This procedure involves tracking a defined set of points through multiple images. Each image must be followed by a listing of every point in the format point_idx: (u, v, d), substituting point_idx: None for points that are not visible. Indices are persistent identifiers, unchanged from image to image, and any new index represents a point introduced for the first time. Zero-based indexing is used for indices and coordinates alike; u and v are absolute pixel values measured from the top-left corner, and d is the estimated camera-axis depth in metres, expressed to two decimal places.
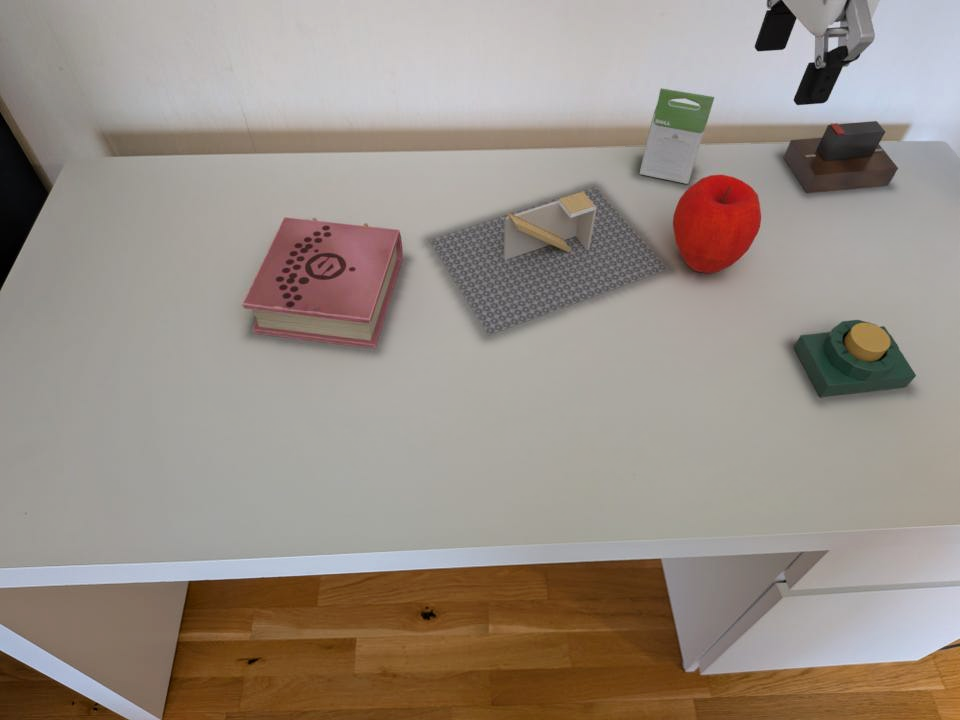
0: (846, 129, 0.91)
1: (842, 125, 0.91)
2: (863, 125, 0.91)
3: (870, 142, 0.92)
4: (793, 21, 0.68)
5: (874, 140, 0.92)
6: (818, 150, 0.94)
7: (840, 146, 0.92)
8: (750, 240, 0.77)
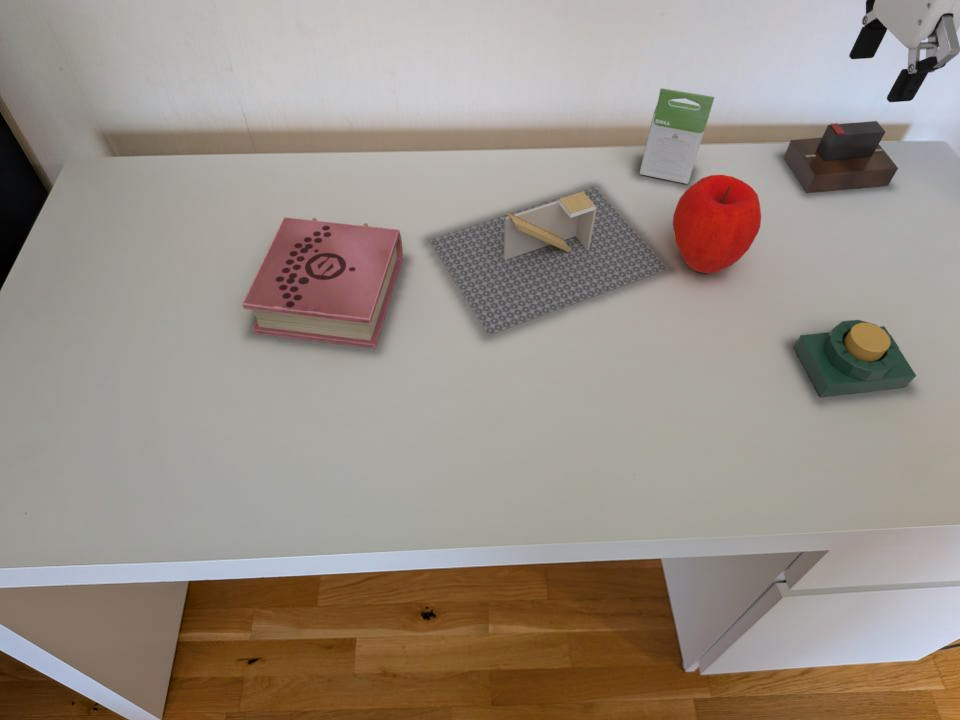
0: (846, 129, 0.91)
1: (842, 125, 0.91)
2: (863, 125, 0.91)
3: (870, 142, 0.92)
4: (882, 35, 0.85)
5: (874, 140, 0.92)
6: (818, 150, 0.94)
7: (840, 146, 0.92)
8: (750, 240, 0.77)
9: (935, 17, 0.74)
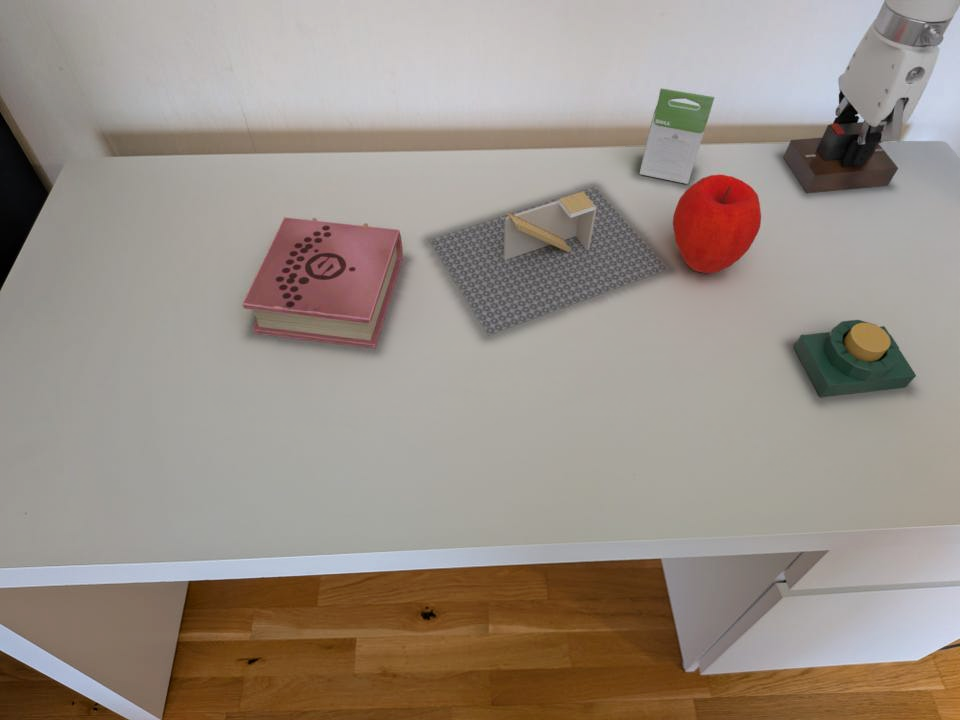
0: (846, 129, 0.91)
1: (842, 125, 0.91)
2: None
3: None
4: None
5: None
6: (818, 150, 0.94)
7: (840, 146, 0.92)
8: (750, 240, 0.77)
9: (892, 101, 0.82)
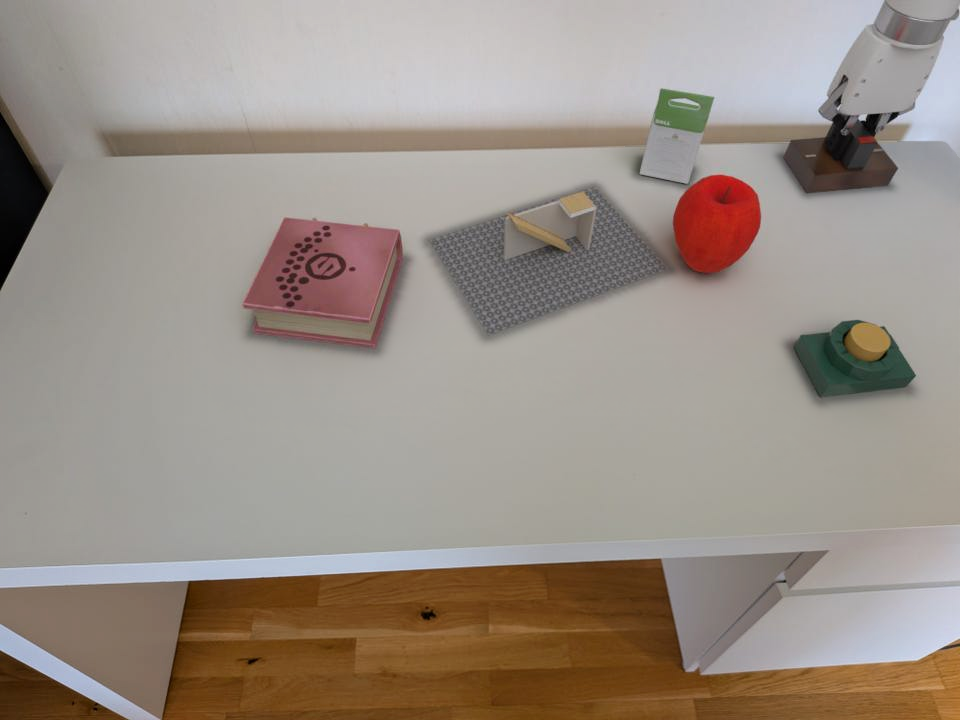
0: (862, 134, 0.90)
1: (856, 135, 0.90)
2: None
3: None
4: None
5: None
6: (851, 167, 0.92)
7: None
8: (750, 240, 0.77)
9: None
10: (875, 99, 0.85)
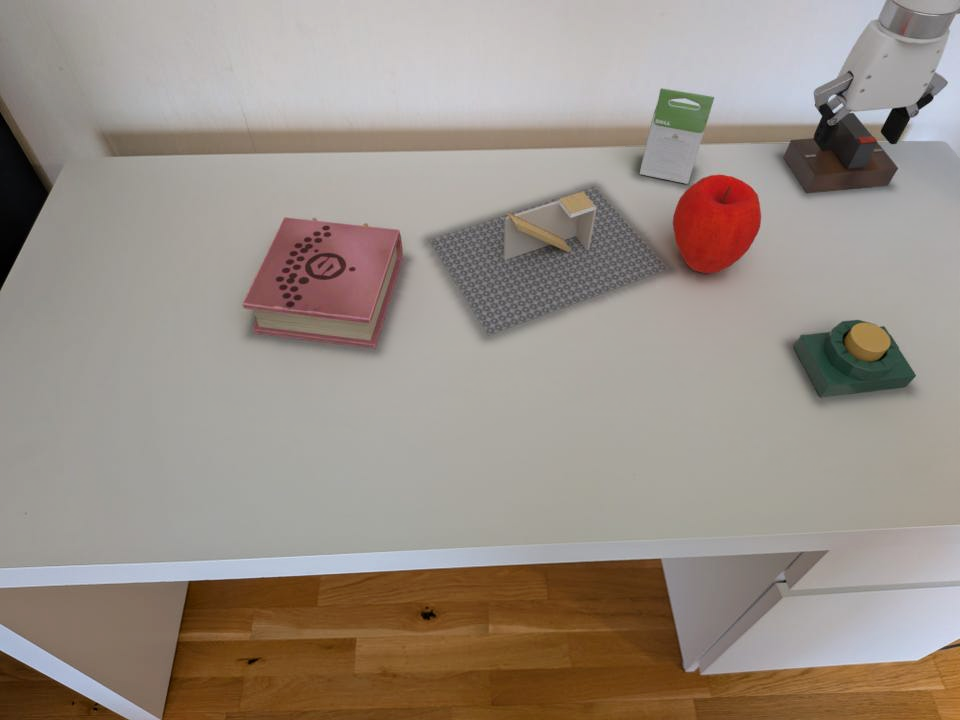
0: (862, 134, 0.90)
1: (856, 135, 0.90)
2: (849, 123, 0.92)
3: None
4: None
5: None
6: (851, 167, 0.92)
7: None
8: (750, 240, 0.77)
9: None
10: (881, 95, 0.84)
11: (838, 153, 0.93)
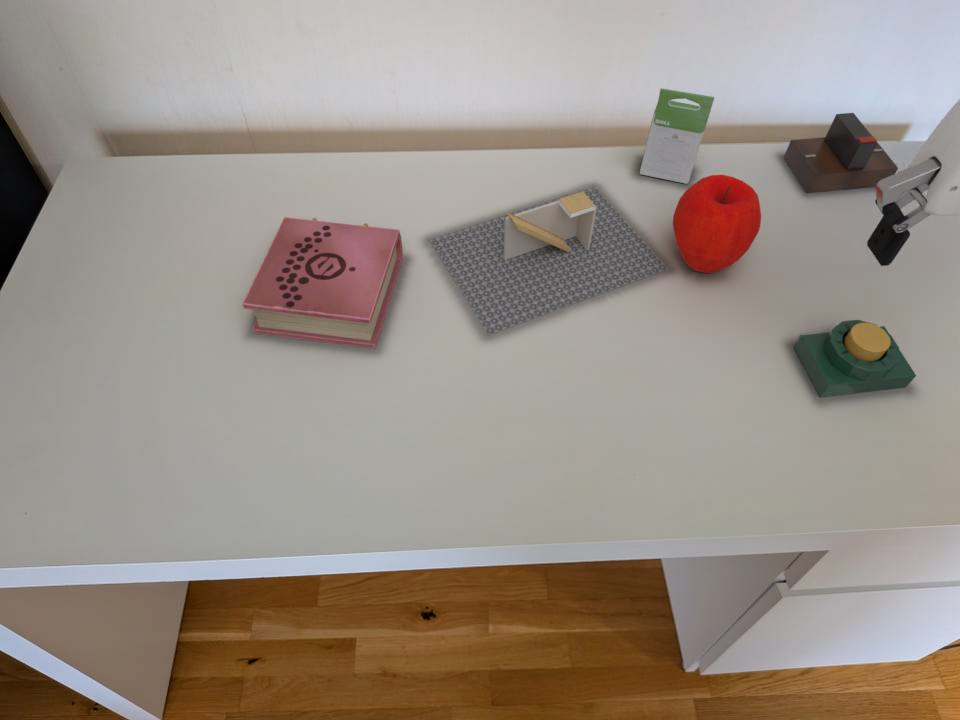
0: (862, 134, 0.90)
1: (856, 135, 0.90)
2: (849, 123, 0.92)
3: None
4: None
5: None
6: (851, 167, 0.92)
7: None
8: (750, 240, 0.77)
9: None
10: None
11: (838, 153, 0.93)
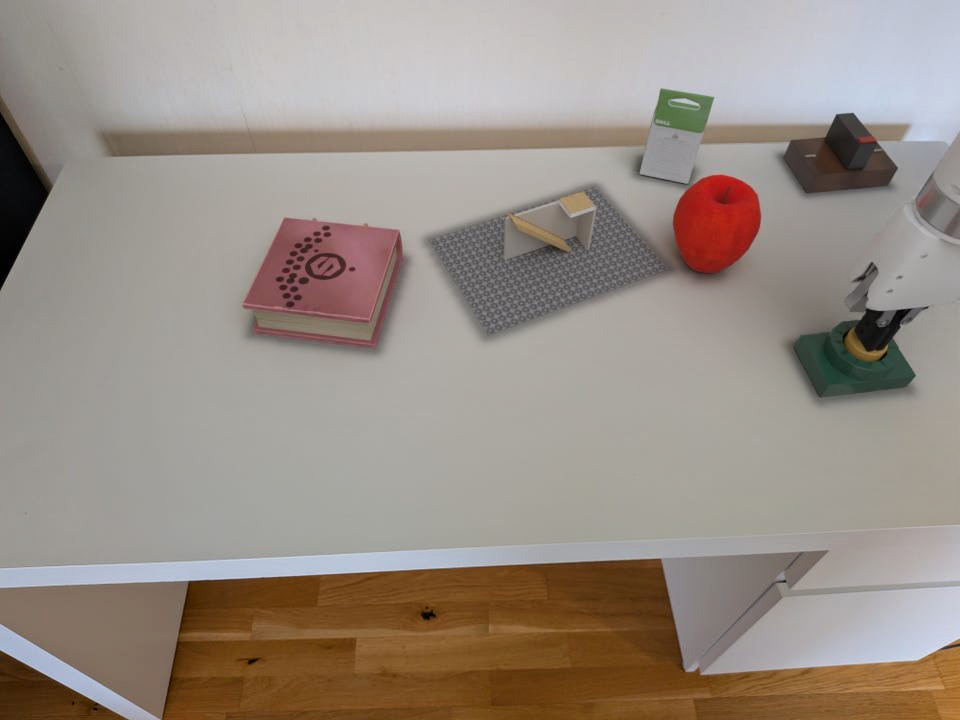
0: (862, 134, 0.90)
1: (856, 135, 0.90)
2: (849, 123, 0.92)
3: None
4: None
5: None
6: (851, 167, 0.92)
7: None
8: (750, 240, 0.77)
9: None
10: (914, 295, 0.63)
11: (838, 153, 0.93)
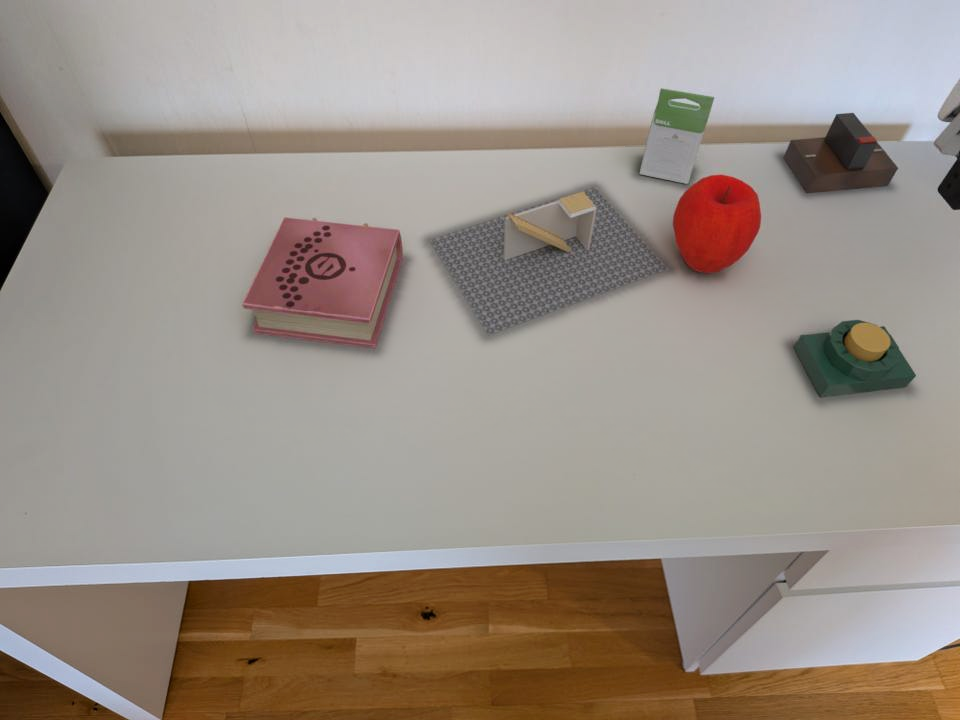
0: (862, 134, 0.90)
1: (856, 135, 0.90)
2: (849, 123, 0.92)
3: None
4: None
5: None
6: (851, 167, 0.92)
7: None
8: (750, 240, 0.77)
9: None
10: None
11: (838, 153, 0.93)
